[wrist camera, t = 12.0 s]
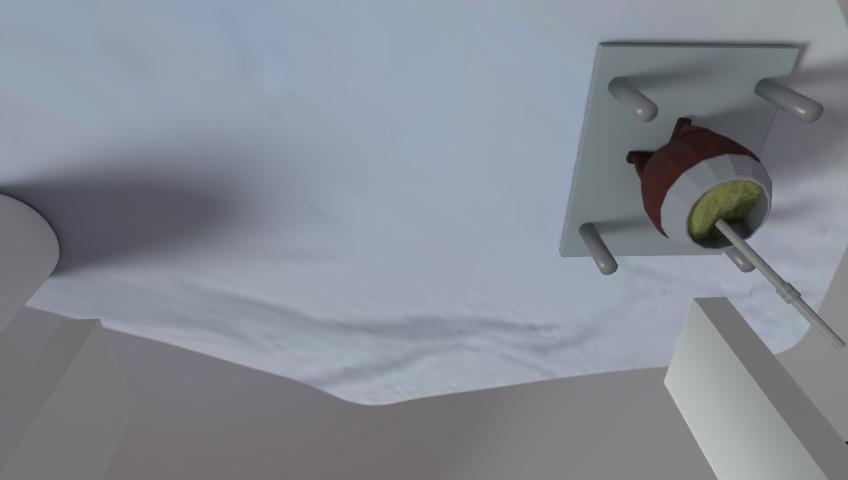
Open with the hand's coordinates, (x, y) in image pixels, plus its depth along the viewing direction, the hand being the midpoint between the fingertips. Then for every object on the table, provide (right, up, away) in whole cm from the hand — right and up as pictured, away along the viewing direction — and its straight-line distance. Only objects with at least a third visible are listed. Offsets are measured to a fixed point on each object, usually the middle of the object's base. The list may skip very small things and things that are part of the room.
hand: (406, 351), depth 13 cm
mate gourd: (+18, +8, +27) cm, 33 cm away
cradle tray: (+18, +8, +27) cm, 34 cm away
